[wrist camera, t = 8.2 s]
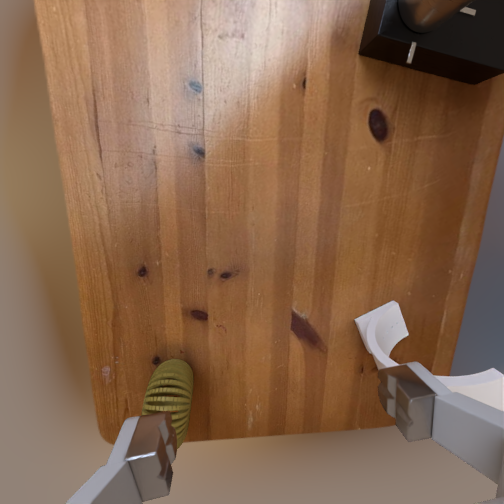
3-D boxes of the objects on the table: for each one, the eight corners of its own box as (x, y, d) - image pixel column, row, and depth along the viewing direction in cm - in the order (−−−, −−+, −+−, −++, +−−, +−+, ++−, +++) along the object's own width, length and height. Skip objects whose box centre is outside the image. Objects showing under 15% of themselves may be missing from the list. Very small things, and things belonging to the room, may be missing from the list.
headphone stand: (403, 331, 30) (515, 421, 19) (358, 353, 30) (441, 456, 19) (393, 299, 29) (506, 375, 17) (345, 323, 29) (426, 413, 18)
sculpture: (159, 341, 27) (134, 403, 19) (197, 343, 28) (188, 404, 20) (156, 403, 29) (132, 481, 21) (192, 403, 30) (181, 480, 22)
